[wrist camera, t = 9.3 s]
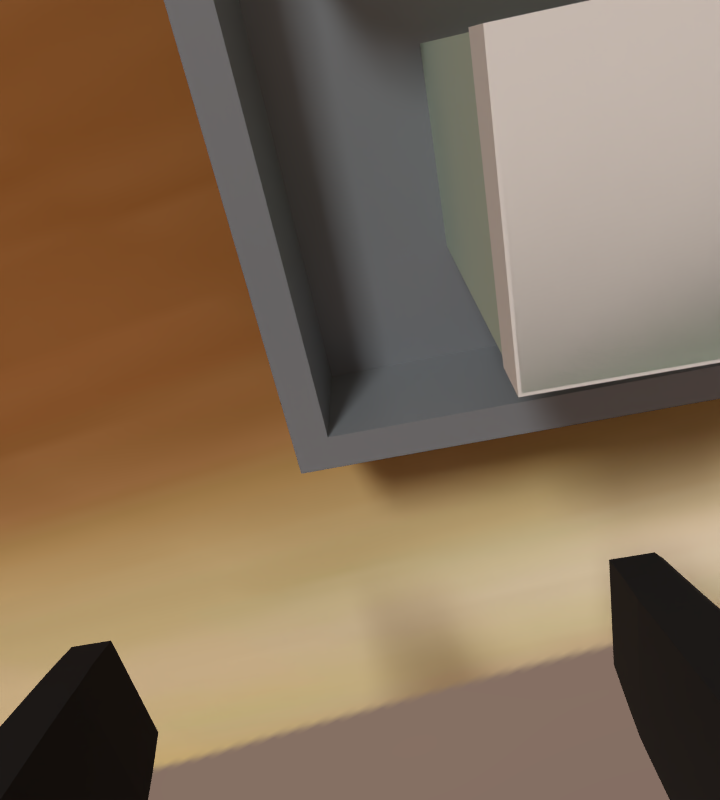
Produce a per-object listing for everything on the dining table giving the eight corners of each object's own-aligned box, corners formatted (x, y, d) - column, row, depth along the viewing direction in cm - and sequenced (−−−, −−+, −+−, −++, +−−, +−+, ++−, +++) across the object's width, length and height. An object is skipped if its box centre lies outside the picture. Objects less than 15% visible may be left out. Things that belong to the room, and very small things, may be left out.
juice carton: (632, -6, 14) (930, -73, 7) (633, 212, 16) (864, 337, 9) (417, 41, 14) (483, 22, 7) (445, 248, 16) (518, 397, 9)
